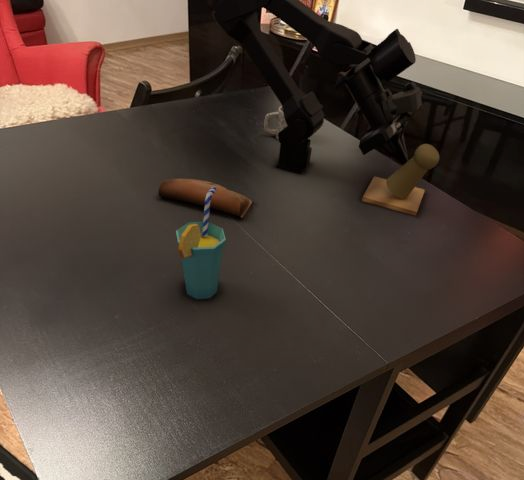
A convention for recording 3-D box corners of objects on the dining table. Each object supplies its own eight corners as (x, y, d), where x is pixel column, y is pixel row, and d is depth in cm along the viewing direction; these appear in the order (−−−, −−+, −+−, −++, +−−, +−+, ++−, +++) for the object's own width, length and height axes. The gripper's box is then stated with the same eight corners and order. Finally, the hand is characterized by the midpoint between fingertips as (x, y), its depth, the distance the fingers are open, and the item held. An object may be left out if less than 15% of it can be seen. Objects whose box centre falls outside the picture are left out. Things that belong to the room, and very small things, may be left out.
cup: (191, 258, 85) (189, 178, 74) (234, 265, 85) (238, 187, 74) (167, 308, 76) (161, 225, 65) (215, 317, 75) (216, 235, 64)
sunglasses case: (254, 199, 100) (250, 180, 94) (243, 228, 99) (239, 211, 92) (175, 179, 103) (167, 160, 97) (164, 207, 102) (154, 190, 95)
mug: (298, 131, 127) (302, 105, 123) (303, 142, 123) (307, 115, 118) (261, 130, 126) (263, 103, 121) (264, 141, 121) (267, 114, 117)
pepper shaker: (410, 190, 108) (446, 153, 99) (404, 203, 104) (441, 166, 95) (390, 173, 107) (424, 134, 98) (382, 185, 103) (418, 146, 95)
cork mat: (361, 200, 105) (362, 196, 104) (373, 180, 112) (374, 176, 111) (415, 215, 102) (417, 211, 102) (423, 193, 110) (425, 189, 109)
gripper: (390, 83, 85) (431, 160, 90) (417, 59, 97) (451, 128, 102) (340, 118, 93) (380, 187, 98) (371, 92, 104) (405, 155, 109)
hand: (406, 163), depth 101 cm, fingers closed
